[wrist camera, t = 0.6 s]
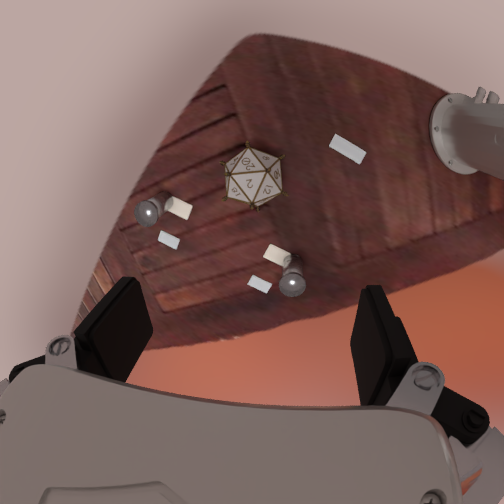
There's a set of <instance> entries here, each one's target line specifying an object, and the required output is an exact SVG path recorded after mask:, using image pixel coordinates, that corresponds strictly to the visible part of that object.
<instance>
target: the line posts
mask: <svg viewBox="0 0 504 504" xmlns="http://www.w3.org/2000/svg"><path fill="white" fill-rule="evenodd" d="M172 206H173V198H172V195H171V194H170V193H169V192H166V191H163V192H160V193H159V194H157V195H155V196H154V197H152V198H150V199H149V200H145V201H142V202H140V203H138V204H137V205H136V207H135V210H134V214H135V218H136V220H137V221H138V223H139V224H141V225H142V226H145V227H150V226H152V225H154V224H155V223H156V222H157V221H158V218H159V217H160V216H161V215H163V214H164V213H165V212H167V211H168V210H169V209H170V208H171V207H172ZM305 287H306V283H305V279H304V277H303V266H302V259H301V258H300V257H299V256H298V255H296V254H291V255H288V256H286V257H285V258H284V260H283V269H282V277H281V278H280V281H279V288H280V291H281V292H282V293H283V294H284V295H286V296H290V297H295V296H298V295H300V294H302V293H303V292H304V290H305Z"/></svg>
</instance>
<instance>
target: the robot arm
mask: <svg viewBox="0 0 504 504" xmlns="http://www.w3.org/2000/svg"><path fill="white" fill-rule="evenodd" d="M485 94H486V91H485V89H483V88H482V87H479V88H478V90H477V93H476V96H475V97H473V98H471V97H469V96H466V95H463V94H460V93H459V94H458V93H457V94H456V93H454V94H448V95H446V96H443V97H442V98H441V99H440V100H438V102H437V103H436V104H435V106H434V108H433V110H432V113H431V117H430V124H429V129H430V138H431V142H432V145H433V148H434V151H435V152H436V154H437V156H438V158H439V159H440V160H441V162H442V163H443V164H444V165H445V166H446V167H447V168H449V169H450V170H452V171H454V172H457V173H460V174H471V173H475V172H476V171H478V170H479V171H482V172H484V173H487V174H489V175H492V176H494V177H496V178H499V179H501V180H503V181H504V104H498V101H499V97H498V95H497V94H496V93H494V92H491V91H490V92H489V95H488V98H487V101H486V103H482V101H483V98H484V97H485ZM434 128H435V130H434ZM448 162H449V163H448ZM152 333H153V327H152V323H151V320H150V317H149V314H148V310H147V307H146V304H145V300H144V296H143V293H142V289H141V285H140V282H139V281H137V280H136V278H134V277H122V278H121V279H120V280H119V281H118V282H117V283H116V284H115V285H114V286H113V287H112V288H111V289H110V291H109V292H108V293H107V294H106V295H105V296H104V297H103V298H102V299H101V301H100V302H99V303H98V304H97V305H96V306H95V307H94V308H93V310H92V311H91V312H90V313H89V314H88V315H87V317H86V318H85V319H84V320H83V321H82V322H81V324H80V325H79V326H78V327H77V328H76V329H75V331H74V334H75V336H76V337H75V338H74V339H73V338H72V337H71V336H69V335H61V336H58V337H55V338H54V339H52V340H51V341H50V342H49V343H48V345H47V347H46V354H45V355H43V356H40V357H38V358H35V359H32V360H29V361H27V362H24V363H21V364H19V365H16V366H15V367H14V368H13V369H12V371H11V373H10V375H9V380H7V379H4V380H2V381H1V382H0V504H498V503H499V501H500V500H501V499H502V497H503V496H504V435H503V434H501V432H500V431H499V430H498V429H497V428H496V427H494V428H493V429H492V428H491V427H490V426H489V423H490V421H489V416H488V413H487V412H486V410H485V409H484V408H483V407H481V406H480V405H478V404H476V403H474V402H473V401H471V400H469V399H467V398H465V397H463V396H461V395H460V394H457V393H456V392H454V391H452V390H450V389H449V388H447V387H445V386H444V383H445V378H444V375H443V373H442V371H441V370H440V369H439V368H438V367H437V366H436V365H434V364H432V363H428V362H418V359H417V357H416V355H415V352H414V349H413V347H412V345H411V342H410V340H409V337H408V335H407V333H406V330H405V328H404V326H403V323H402V321H401V319H400V318H399V317H395V315H394V313H393V311H392V308H391V306H390V304H389V302H388V299H387V297H386V295H385V293H384V291H383V289H382V287H381V285H367V286H366V289H362V290H361V294H360V299H359V304H358V309H357V315H356V319H355V323H354V327H353V332H352V336H351V341H350V346H351V352H352V357H353V362H354V367H355V373H356V379H357V385H358V391H359V397H360V404H361V406H280V405H262V404H249V403H238V402H229V401H220V400H212V399H205V398H198V397H192V396H186V395H179V394H175V393H169V392H164V391H159V390H154V389H150V388H145V387H141V386H137V385H132V384H128V383H125V382H126V380H127V378H128V377H129V375H130V373H131V371H132V369H133V368H134V366H135V364H136V362H137V360H138V359H139V357H140V355H141V353H142V352H143V350H144V348H145V346H146V345H147V343H148V341H149V339H150V338H151V336H152Z"/></svg>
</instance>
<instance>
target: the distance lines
mask: <svg viewBox="0 0 504 504" xmlns="http://www.w3.org/2000/svg"><path fill="white" fill-rule="evenodd" d="M329 147H331V148H333V149H335V150H336V151H338V152H340V153H342V154H343V155H345V156H347V157H348V158H350V159H352V160H353V161H355V162H356V163H358V164H360V163H361V161H362V159H363V158H364V156H365V154H366V152H365V151H363V150H362V149H360V148H358V147H357V146H355V145H354V144H352V143H350V142H349V141H347V140H345V139H344V138H342V137H340V136H338V135H337V134H335V135H334V137H333V139H332V141H331V143H330V144H329ZM172 198H173V206H172V207H171V208H170V209H169V210H168V211H170V212H172V213H174V214H176V215H178V216H180V217H182V218H184V219H186V220H188V217H189V215H190V212H191V209H192V207H193V206H192V205H190V204H188V203H186V202H184V201H182V200H180V199H178V198H176V197H174V196H173V197H172ZM158 241H160V242H162V243H164V244H166V245H168V246H170V247H172V248H174V249H177V246H178V244H179V241H180V239H179V238H176V237H174V236H172V235H170V234H168V233H166V232H164V231H162V230H161V232H160V235H159V238H158ZM288 255H291V253H289V252H287V251H285V250H283V249H281V248H279V247H277V246H275V245H273V244H271V243H270V245H269V247H268V249H267V250H266V252H265V254H264V256H263V257H264V258H266V259H268V260H271V261H273V262H275V263H277V264H279V265H281V266H283V260H284V258H285V257H286V256H288ZM248 285H250V286H252V287H254V288H257V289H259V290H261V291H263V292H265V293H267V292H268V290H269V289H270V287H271V285H272V283H269V282H267V281H265V280H263V279H261V278H259V277H257V276H255V275H252V277H251V279H250V280H249V282H248Z"/></svg>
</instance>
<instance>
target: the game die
mask: <svg viewBox="0 0 504 504" xmlns="http://www.w3.org/2000/svg"><path fill="white" fill-rule="evenodd" d="M245 144H246V146H247V148H245V149H244V150H243V151H241V152H240V153H239V154H237V155H236V156H235V157H233V158H232V159H231V160H230V161H228V162H227V163H225V162H223V161H220V163H221V165H225V173H224V174H225V180H226V197H224V198H223V199H222V201H226V200H227V199H228V198H230V199H233V200H236V201H240V202H243V203H246V204H249V205H250V208H251V209H253V208H254V206H256V211H258V212H259V210H260V207H259V206H260V205H262V204H264V203H265V202H267V201H269V200H271V199H273V198H274V197H276V196H278V195H280V194H283V195H284V196H289V195H288V194H287V192H283V188H282V176H281V165H280V160H281V159H283V158H284V157H285V155H281V156H280V157H279V158H278V157H275V156H273V155H270V154H267V153H265V152H262V151H260V150H257V149H254V148H251V147H250V142H249V141H248V140H247V141H246V143H245Z"/></svg>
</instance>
